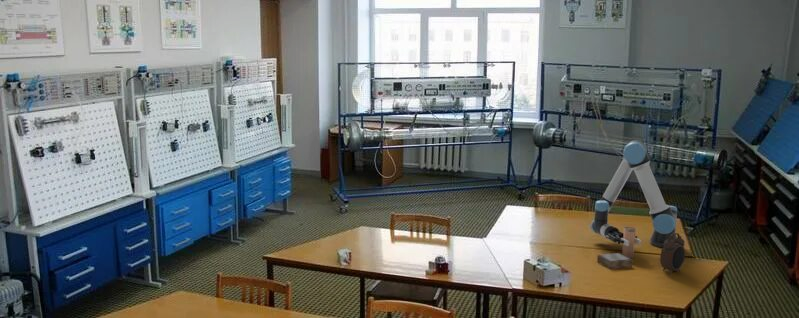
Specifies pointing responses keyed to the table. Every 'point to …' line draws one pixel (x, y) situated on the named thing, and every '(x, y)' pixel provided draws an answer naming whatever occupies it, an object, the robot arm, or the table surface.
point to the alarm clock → (673, 253)
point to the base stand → (614, 260)
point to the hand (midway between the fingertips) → (634, 243)
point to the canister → (630, 236)
